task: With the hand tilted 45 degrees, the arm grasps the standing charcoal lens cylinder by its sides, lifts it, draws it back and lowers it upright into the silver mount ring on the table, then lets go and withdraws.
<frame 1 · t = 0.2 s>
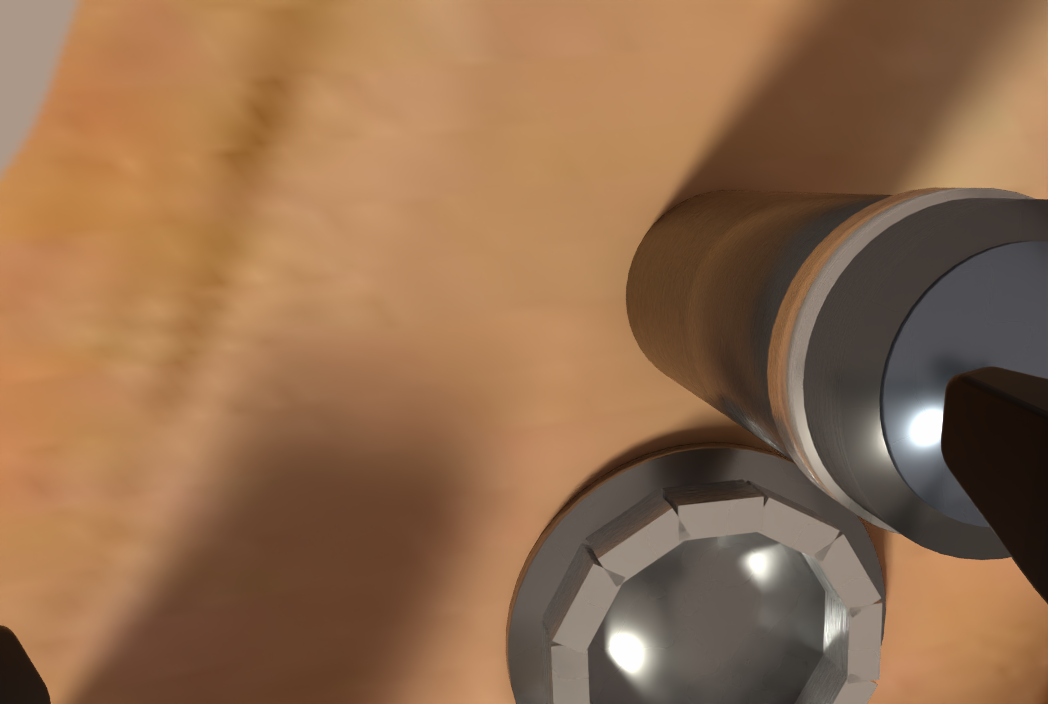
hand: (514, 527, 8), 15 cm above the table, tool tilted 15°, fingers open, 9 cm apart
mount ring: (696, 628, 26), on the table
lens: (723, 292, 24), on the table
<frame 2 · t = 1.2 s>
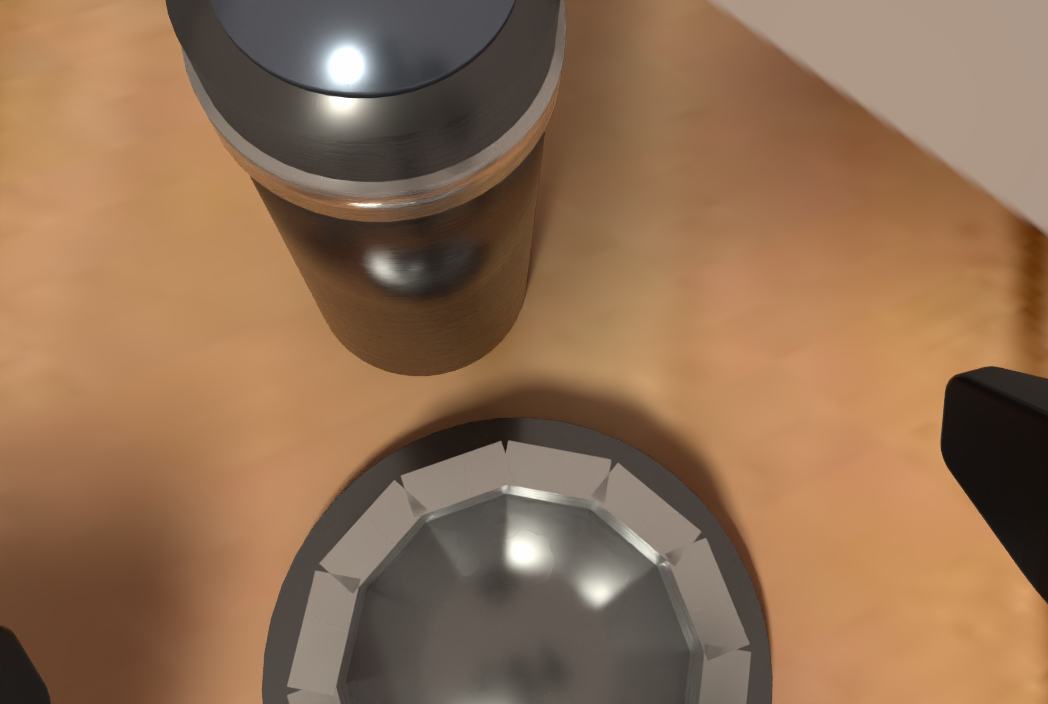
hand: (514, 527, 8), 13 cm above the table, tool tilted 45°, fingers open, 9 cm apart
mount ring: (519, 665, 20), on the table
lens: (422, 275, 23), on the table
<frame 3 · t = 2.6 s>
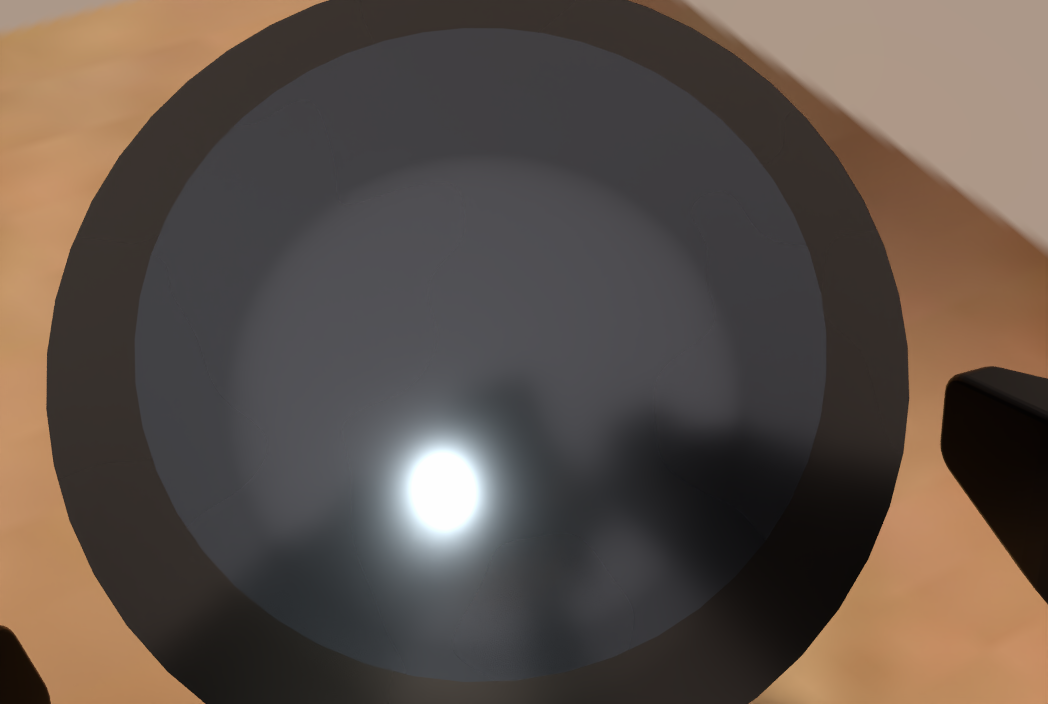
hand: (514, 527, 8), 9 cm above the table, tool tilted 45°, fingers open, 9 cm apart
lens: (487, 526, 17), on the table
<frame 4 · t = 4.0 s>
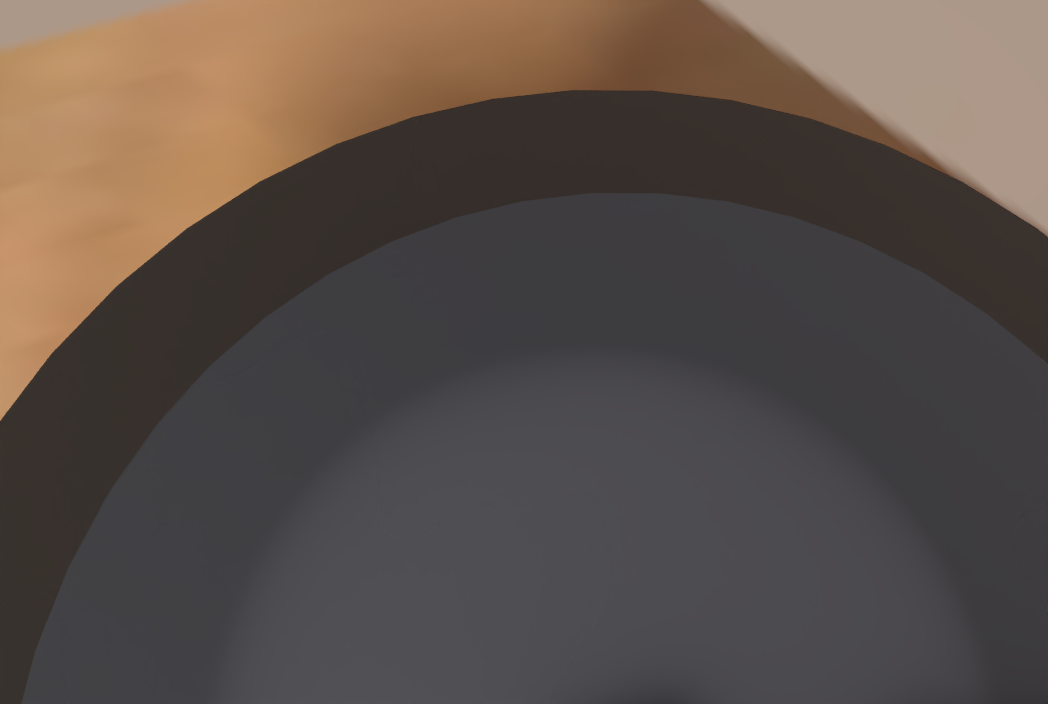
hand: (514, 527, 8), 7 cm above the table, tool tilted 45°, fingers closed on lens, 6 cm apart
lens: (523, 655, 14), on the table, touching gripper
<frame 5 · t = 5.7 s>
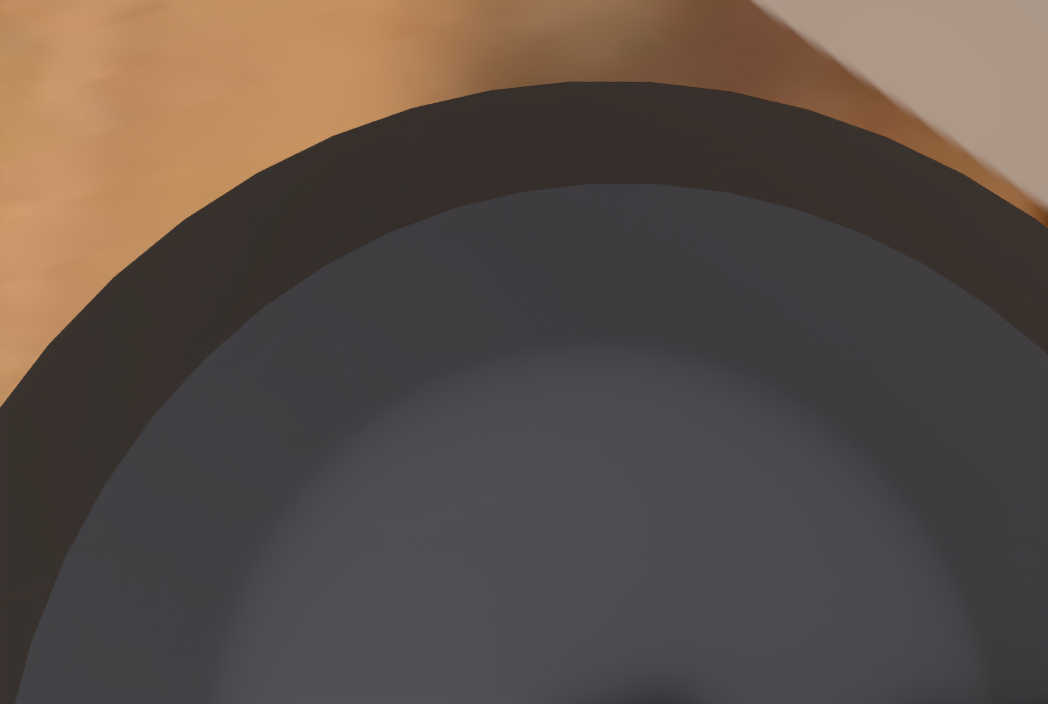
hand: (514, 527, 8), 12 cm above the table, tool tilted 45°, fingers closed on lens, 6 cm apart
lens: (522, 653, 14), point 6 cm above the table, touching gripper
when the fingers open (8 cm above the table, at t = 7.4 s): lens stays where it is, resting on mount ring.
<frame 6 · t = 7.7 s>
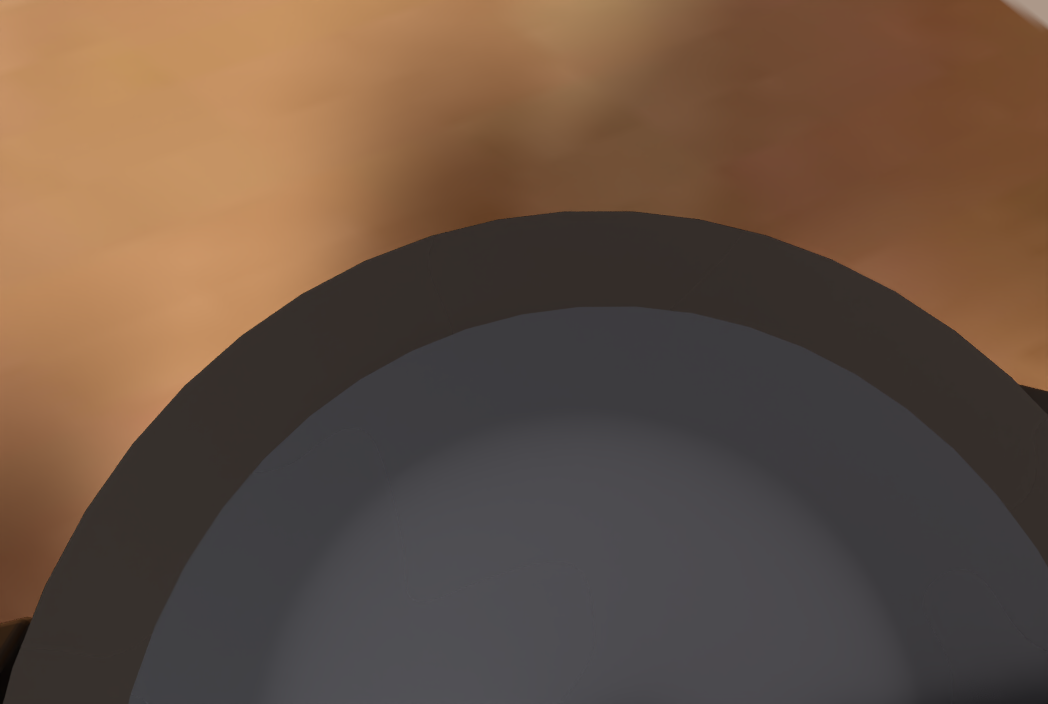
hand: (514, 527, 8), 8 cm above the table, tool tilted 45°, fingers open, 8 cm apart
lens: (523, 660, 15), point 1 cm above the table, touching mount ring
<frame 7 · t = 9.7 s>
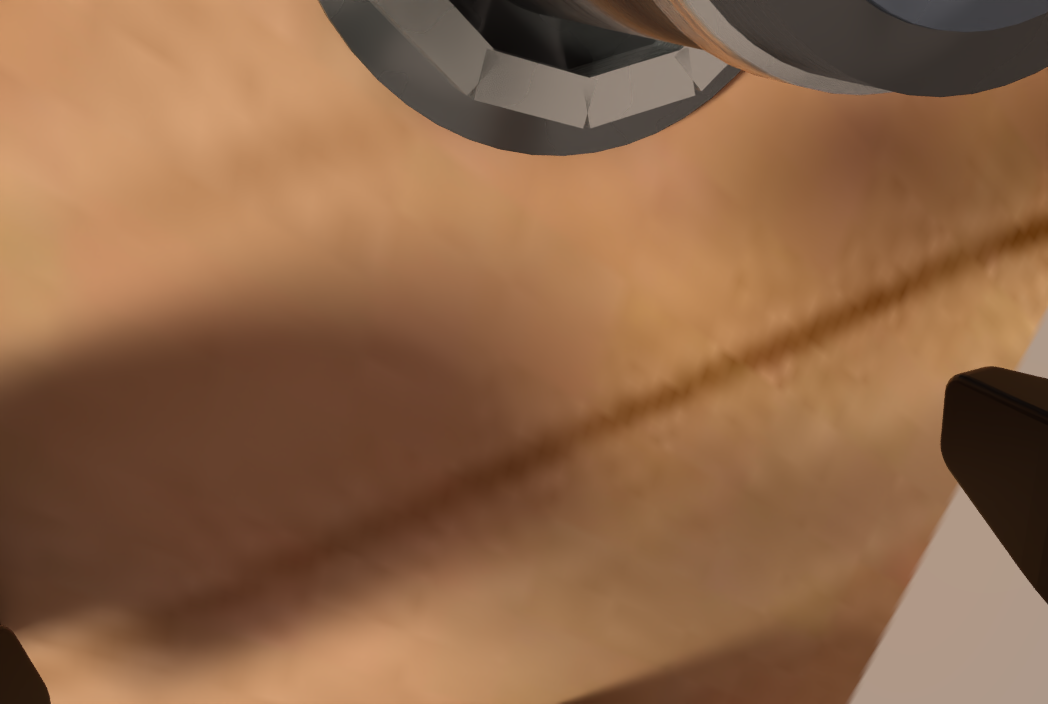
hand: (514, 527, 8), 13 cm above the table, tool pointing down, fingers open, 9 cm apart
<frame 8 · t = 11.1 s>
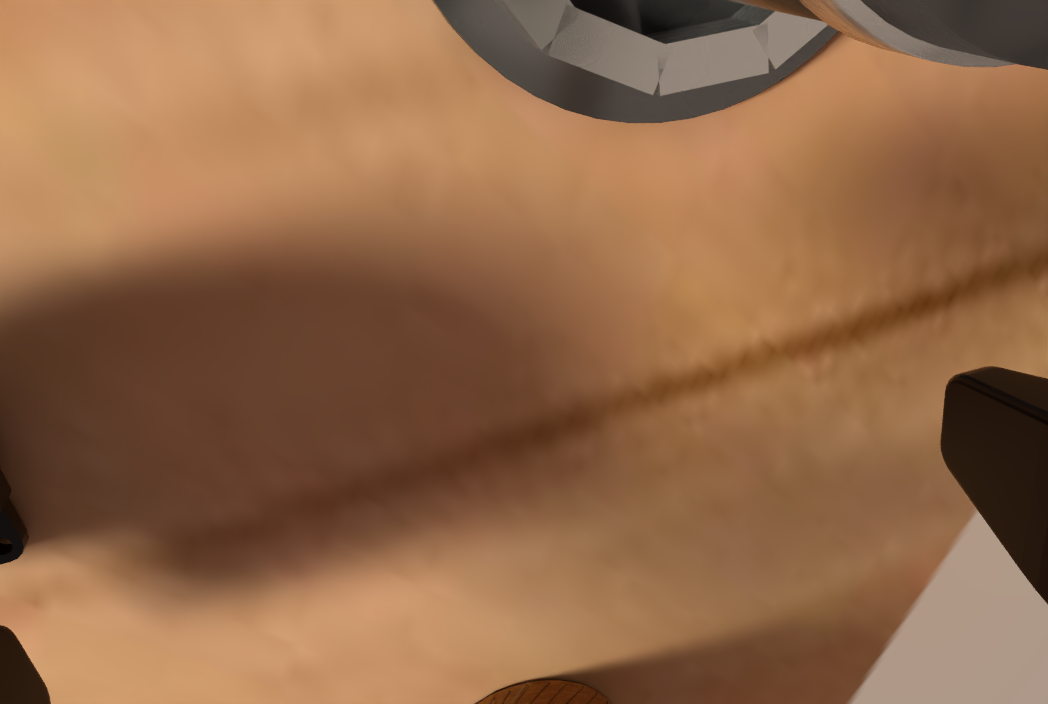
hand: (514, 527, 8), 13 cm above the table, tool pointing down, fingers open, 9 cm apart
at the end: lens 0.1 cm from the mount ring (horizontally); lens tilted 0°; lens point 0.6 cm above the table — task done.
